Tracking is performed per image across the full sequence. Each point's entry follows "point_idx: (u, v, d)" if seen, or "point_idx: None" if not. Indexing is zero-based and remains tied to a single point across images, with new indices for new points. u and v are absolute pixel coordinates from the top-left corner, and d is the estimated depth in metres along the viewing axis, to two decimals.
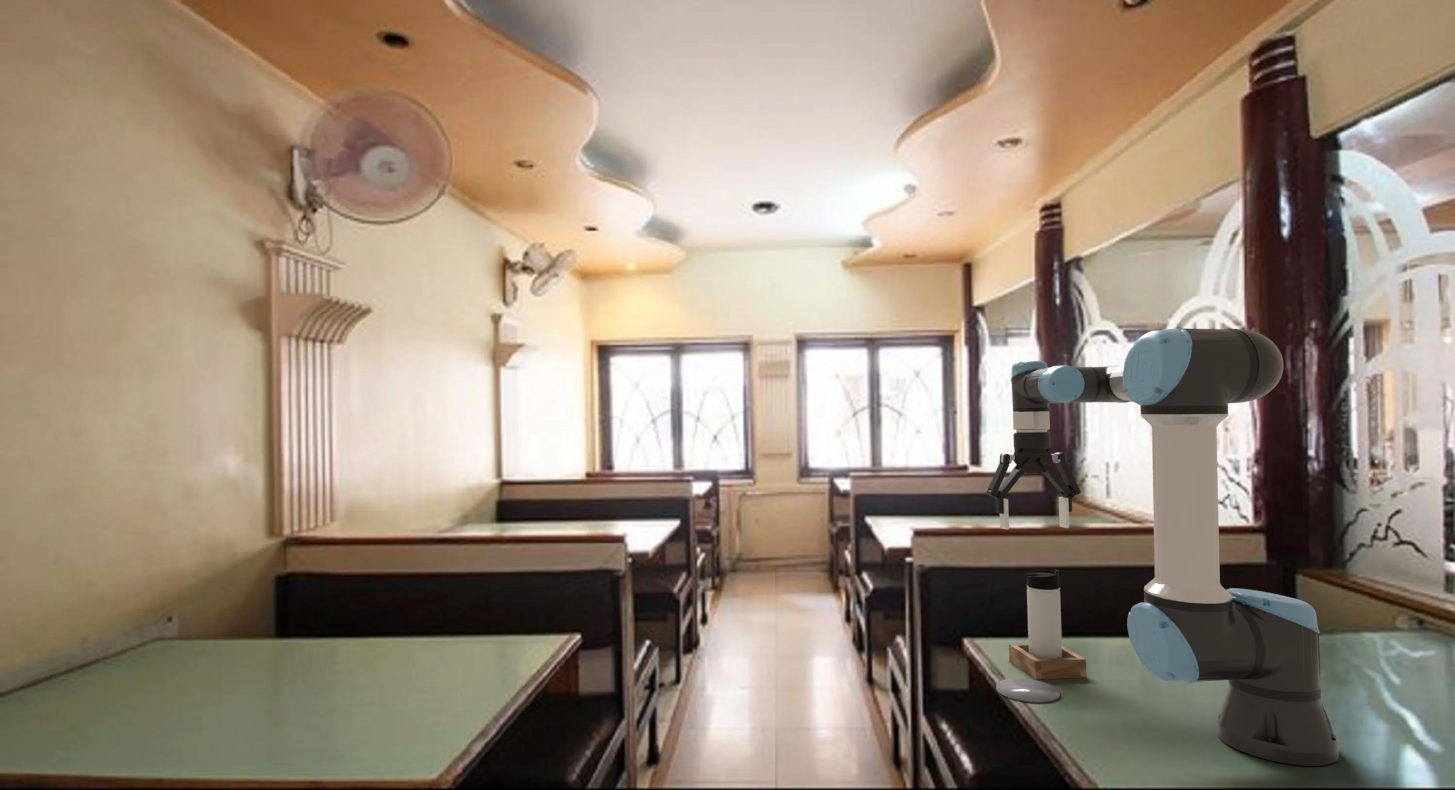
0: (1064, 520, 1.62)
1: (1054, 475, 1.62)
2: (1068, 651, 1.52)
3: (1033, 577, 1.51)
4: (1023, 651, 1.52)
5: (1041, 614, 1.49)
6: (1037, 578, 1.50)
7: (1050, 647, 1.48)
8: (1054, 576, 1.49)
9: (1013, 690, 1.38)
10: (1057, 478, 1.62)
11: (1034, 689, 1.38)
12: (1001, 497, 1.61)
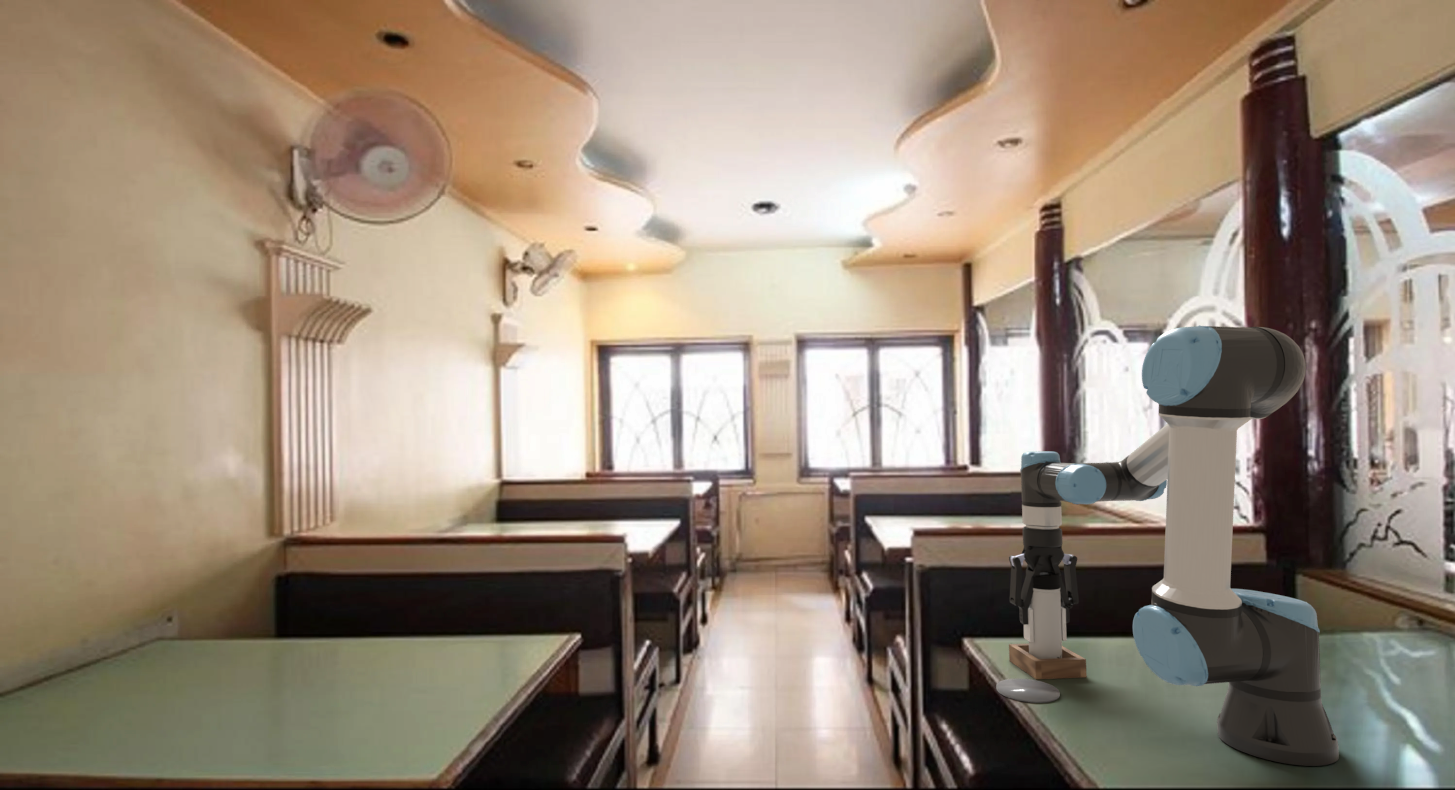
0: None
1: None
2: (1068, 651, 1.52)
3: (1033, 577, 1.51)
4: (1023, 651, 1.52)
5: (1041, 614, 1.49)
6: (1037, 578, 1.50)
7: (1050, 647, 1.48)
8: (1054, 576, 1.49)
9: (1013, 690, 1.38)
10: (1061, 583, 1.51)
11: (1034, 689, 1.38)
12: (1026, 607, 1.50)
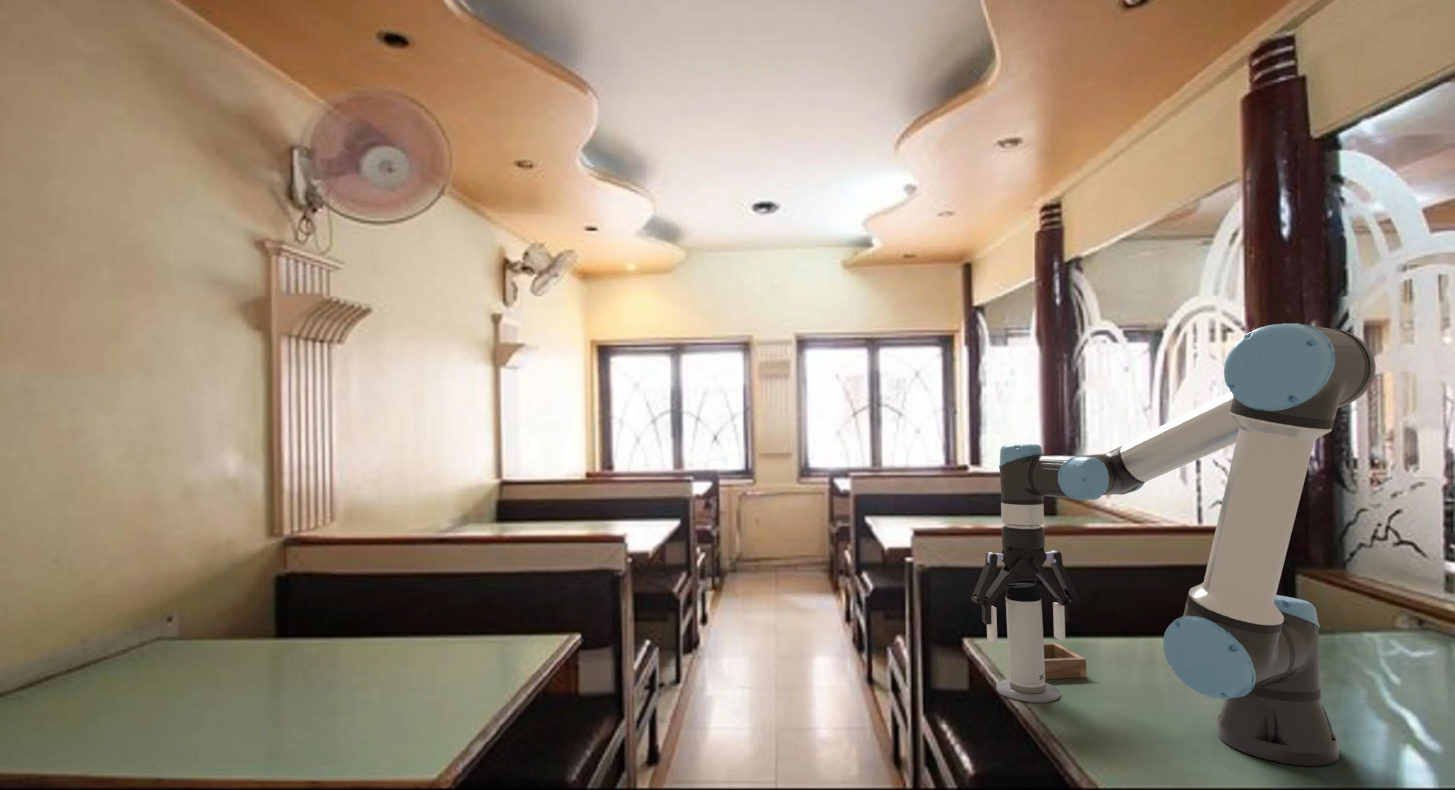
0: (1059, 631, 1.39)
1: (1048, 578, 1.39)
2: (1068, 651, 1.52)
3: (1012, 588, 1.38)
4: None
5: (1020, 628, 1.37)
6: (1016, 589, 1.37)
7: (1032, 664, 1.36)
8: (1034, 587, 1.37)
9: (1013, 690, 1.38)
10: (1052, 582, 1.39)
11: None
12: (988, 605, 1.37)
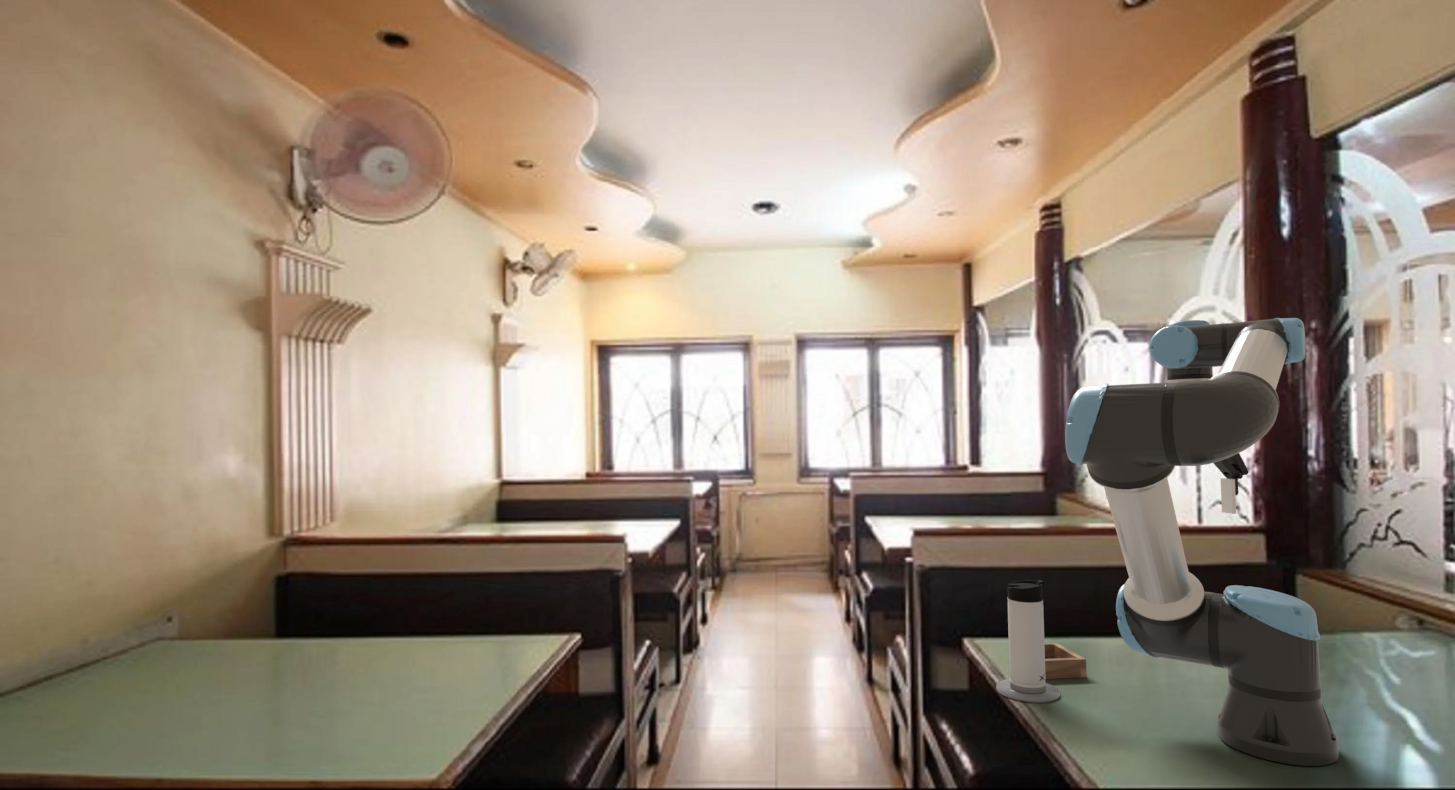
0: (1229, 505, 1.40)
1: None
2: (1068, 651, 1.52)
3: (1014, 588, 1.38)
4: None
5: (1022, 629, 1.36)
6: (1018, 589, 1.37)
7: (1032, 665, 1.36)
8: (1036, 587, 1.37)
9: (1013, 690, 1.38)
10: None
11: None
12: None
